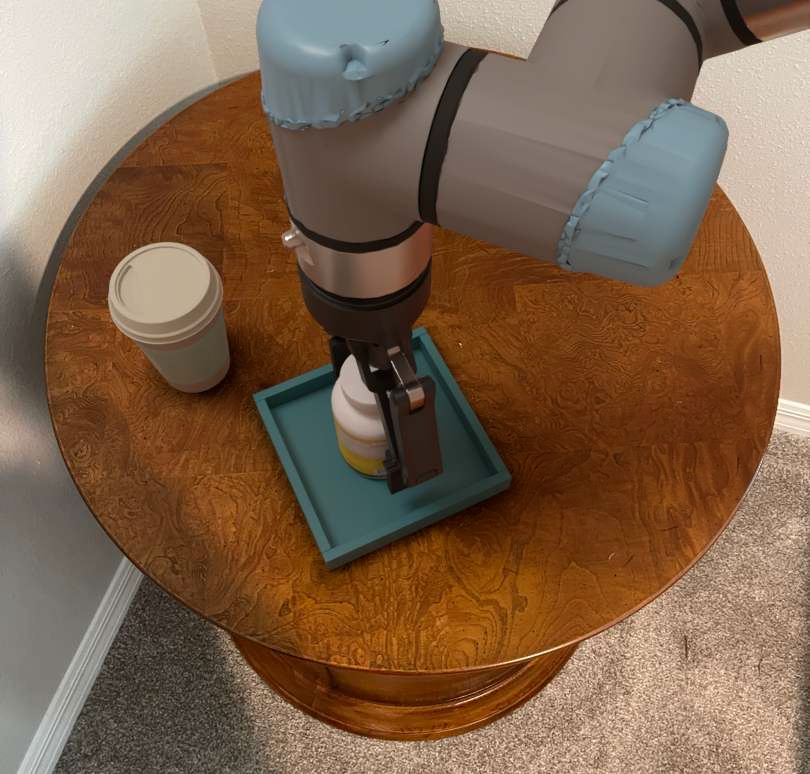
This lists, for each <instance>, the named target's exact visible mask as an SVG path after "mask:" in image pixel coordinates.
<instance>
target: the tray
mask: <svg viewBox="0 0 810 774" xmlns="http://www.w3.org/2000/svg"><path fill="white" fill-rule="evenodd" d="M412 333H413V336H412V339H411V345H412V349H413V353H414V357H415V361H416V365H417V373H416V375H415V376H416V378H418V377H420V376H426V375H429V376H430V377H431V378H432V379H433V380H434V382H435V384H436V387H435V388H436V397H435V403H434V406H435V413H436V421H437V429H438V436H439V444H440V451H441V459H442V466H443V474H441V475H438V476H436V477H434V478H432V479H430V480H428V481H425V482H423V483H421V484H419V485H416V486H414V487H412V488H406V489H404V490H402V491H400V492H397V493H395V494H393V495H391V493H390V491H389V489H388V487H387V478H382V479H375V478H369V477H365V476H362V475H360V474H358V473H357V472H355V471H354V470H352V469H351V468H350V467H349V466H348V464H347V463H346V462H345V460H344V458H343V457H342V454H341V451H340V447H339V442H338V437H337V432H336V427H335V421H334V416H333V411H332V403H331V397H332V391H333V388H334V385H335V378H334V372H333V366H332V362H330V363H327V364H325V365H323V366H320V367H318V368H315V369H313V370H309V371H308V372H305V373H303V374H300V375H298V376H295V377H293V378H290V379H288V380H285V381H283V382H280V383H278V384H275V385H273V386H270V387H267V388H266V389H262V390H261V391H258V392H256V393H253V394H252V399H253V401H254V404H255V407H256V410H257V412H258V414H259V416H260V419H261V421H262V424H263V426H264V428H265V430H266V432H267V435H268V437H269V439H270V440H271V444H272V447H273V448H274V451H275V453H276V455H277V457H278V459H279V462H280V465H281V467H282V469H283V471H284V473H285V476H286V478H287V480H288V482H289V485H290V487H291V489H292V492H293V495H294V496H295V498H296V500H297V503H298V505H299V508H300V509H301V510H300V511H301V512H302V514H303V517H304V519H305V521H306V523H307V526H308V528H309V530H310V532H311V534H312V538H313V540H314V541H315V543H316V546H317V548H318V550H319V553H320V555H321V558H322V560H323V562H324V564H325V566H326V567H325V568H326V569H327V571H328V572H331V571H332V570H334V569H337V568H339V567H341V566H344V565H346V564H348V563H350V562H352V561H354V560H356V559H358V558H361V557H363V556H365V555H367V554H369V553H372V552H374V551H376V550H378V549H381V548H382V547H385V546H386V545H389V544H392V543H393V542H395V541H398V540H400V539H402V538H404V537H407V536H408V535H411V534H413V533H415V532H417V531H419V530H421V529H423V528H427V527H428V526H430V525H433V524H435V523H436V522H439V521H441V520H443V519H445V518H448V517H450V516H452V515H454V514H456V513H458V512H460V511H461V512H462V510H465V509H468V508H470V507H472V506H473V505H476V504H478V503H480V502H482V501H485V500H487V499H490V498H491V497H493V496H495V495H498V494H500V493H502V492H504V491H506V490H508V489H510V486H511V482H512V475H511V473H510V471H509V470H508V468H507V467H506V465H505V463H504V461H503V460H502V458H501V456H500V455H499V453H498V452H497V450H496V448H495V446H494V444H493V442H492V441H491V439H490V437H489V436H488V434H487V432H486V431H485V429H484V427H483V426H482V424H481V422H480V420H479V418H478V417H477V415H476V414H475V412H474V410H473V409H472V406H471V405H470V403H469V401H468V399H467V398H466V396H465V394H464V393H463V392H462V389H461V388H460V386H459V384H458V383H457V381H456V380H455V378H454V376H453V374H452V372H451V371H450V369H449V367H448V365H447V363H446V362H445V361H444V358H443V357H442V355H441V354H440V352H439V350H438V349H437V347H436V345H435V344H434V341H433V339H432V338H431V336H430V334H429V333H428V331H427V330H426V328H425V326H424V325H421V326H419V327H416V328H413V329H412Z"/></svg>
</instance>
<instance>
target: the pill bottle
mask: <svg viewBox="0 0 810 774" xmlns="http://www.w3.org/2000/svg"><path fill="white" fill-rule="evenodd" d="M370 369H371V372H373V371H375V370H378V369H377V368H373V367H371V366H370ZM331 403H332V411H333V416H334V421H335V427H336V432H337V437H338V442H339V447H340V451H341V454H342V457H343V458H344V460H345V462H346V463H347V464H348V466H349V467H350V468H351V469H352V470H354V471H355V472H357V473H358V474H360V475H362V476H365V477H369V478H375V479H382V478H387V473H386V470H385V468H384V466H383V463H382V461H383V460H386V458H385V451H386V450H388V449H389V445H388V442H387V439H386V435H385V432H384V428H383V425H382V421H381V418H380V414H379V411H378V407H377V404H376V400H375V397H374V393H372V392H370V391H369V390H368V389H367V387H366V386H365V384H364V383H363V382H362V380H361V376H360V373H359V370H358V366H357V363H356V359H355V357H354V356H353V355H352V354H351V355H350V356H349V357H348V358H347V359H346V361H345V362H344V364H343V366H342V368H341V372H340V377H339V378H338V380H337V381H336V383H335V385H334V388H333V391H332V397H331Z"/></svg>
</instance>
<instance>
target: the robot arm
mask: <svg viewBox="0 0 810 774" xmlns="http://www.w3.org/2000/svg"><path fill="white" fill-rule="evenodd" d="M808 30H810V0H555V2H554V3H553V6H552V8H551V9H550V12H549V14H548V16H547V18H546V19H545V22H544V24H543V25H542V28H541V29H540V32H539V34H538V36H537V38H536V40H535V42H534V43H533V47H532V48H531V50H530V53H528V57H527V58H526V60H525V61H524V60H520V59H517V58H512V57H508V56H505V55H501V54H497V53H493V52H488V51H484V50H481V49H476V48H474V47H472V46H467V45H464V44H461V43H457V42H452V41H448V40H445V34H444V33H445V26H444V25H443V24H442V17H441V9H440V4H439V0H262V2H261V3H260V6H259V8H258V12H257V17H256V22H255V38H256V45H257V47H256V48H257V55H258V62H259V71H260V80H261V88H262V89H261V91H260V98H261V99H260V100H261V101H260V102H261V107H262V109H263V111H264V114H265V115H266V119H267V123H268V127H269V130H270V136H271V140H272V143H273V148H274V151H275V156H276V160H277V164H278V168H279V172H280V175H281V179H282V185H283V198H284V202H285V205H286V211H287V217H288V220H289V222H290V225H291V226H290V229H289V230H287V231H285V232H283V233H282V234H281V236H280V238H281V241H282V247H284V248H285V249H286V250H287V251H292V250H294V252H295V258H296V269H297V274H298V278H299V279H298V280H299V283H300V289H301V294H302V298H303V301H304V305H305V307H306V309H307V311H308V313H309V314H310V316H311V317H312V318H313V320H314V321H315V322H316V323H317V324H318V325H320V327H322V328H323V330H324V332H325V333H327V336H331V337H330V338H328V339H327V340H328V341H327V342H328V347H329V354H330V359H331V363H332V366H333V372H334V378H335V383H336V381H337V380H338V378H339V377H340V372H341V368H342V366H343V364H344V362H345V361H346V359H347V358H348V357H349V356H350V355H351V354H352V355H353V356H354V357H355V359H356V363H357V366H358V370H359V373H360V376H361V380H362V382H363V383H364V384H365V386H366V387H367V389H368V390H369V391H370V392H372V393H374V397H375V400H376V404H377V407H378V411H379V414H380V418H381V421H382V425H383V428H384V432H385V435H386V439H387V442H388V445H389V449H388V450H386V451H385V458H386V460H383V461H382V463H383V466H384V468H385V470H386V473H387V487H388V489H389V491H390V493H391V495H393V494H395V493H397V492H400V491H402V490H404V489H406V488H412V487H414V486H416V485H419V484H421V483H423V482H425V481H428V480H430V479H432V478H434V477H436V476H438V475H441V474H443V466H442V459H441V451H440V444H439V436H438V429H437V421H436V413H435V406H434V403H435V397H436V388H435V387H436V384H435V382H434V380H433V379H432V378H431V377H430V376H429V375H426V376H420V377H418V378H416V376H415V375H416V373H417V365H416V361H415V357H414V353H413V349H412V345H411V339H412V336H413V333H412V330H413V328H412V327H413V326H414V324H415V323H416V322H417V321H418V319H419V318H420V317H421V316H422V314H423V313H424V311H425V309H426V307H427V305H428V303H429V300H430V296H431V289H432V267H433V265H432V264H433V247H434V226H436V227H438V228H441V229H444V230H447V231H450V232H453V233H457V234H459V235H463V236H466V237H469V238H472V239H475V240H478V241H480V242H484V243H487V244H490V245H492V246H493V245H494V246H496V247H500V248H502V249H506V250H508V251H512V252H515V253H518V254H521V255H525V256H526V257H531V258H533V259H537V260H539V261H543V262H545V263H548V264H551V265H555V266H558V267H560V268H561V270H562V271H568V272H570V273H574V274H578V273H581V272H584V273H587V274H592V275H595V276H598V277H603V278H607V279H611V280H615V281H618V282H622V283H626V284H630V285H634V286H639V287H641V288H656V287H660V286H662V285H665V284H666V283H668V282H669V281H670V280H673V278H674V277H675V276H676V275H677V274H678V272H679V271H680V270H681V268H682V267H683V265H684V263H685V261H686V259H687V257H688V256H689V255H688V254H689V253H690V250H691V248H692V246H693V243H694V241H695V240H696V236H697V234H698V232H699V230H700V227H701V225H702V222H703V219H704V217H705V214H706V212H707V209H708V207H709V204H710V202H711V199H712V196H713V193H714V191H715V188H716V185H717V182H718V179H719V176H720V173H721V170H722V167H723V163H724V160H725V157H726V154H727V150H728V145H729V144H728V141H729V136H730V130H729V128H728V125H727V122H726V121H725V119H724V118H723V117H721V116H720V115H719V114H717V113H714V112H712V111H710V110H707V109H704V108H702V107H699V106H697V105H695V104H693V103H692V99H693V96H694V91H695V90H696V89H695V88H696V85H697V82H698V78H699V76H700V72H701V69H702V67H703V65H704V62H705V61H707V60H709V59H714V58H716V57H719V56H723V55H727V54H731V53H733V52H739V51H741V50H744V49H745V48H749V47H751V46H754V45H758V44H762V43H766V42H769V41H772V40H776V39H780V38H783V37H787V36H789V35H793V34H797V33H800V32H803V31H808ZM370 366H371V367H373V368H377V369H378V370H375V371H373V372H371V369H370Z"/></svg>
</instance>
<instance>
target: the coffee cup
mask: <svg viewBox="0 0 810 774" xmlns="http://www.w3.org/2000/svg"><path fill="white" fill-rule="evenodd" d="M108 285H109V286H108V294H107V296H108V297H107V303H108V309H109V312H110V316H111V319H112V320H113V323H114V325H115V326H116V327H117V329H118V330H119V331H120V332H121V333H123V334H124V335H125V336H127V337H128V338H131V339H132V340H133V342H134V343H135V344H136V346H137V347H138V348H139V349H140V350H141V351H142V353H143V354H144V355H145V356H146V358H147V359H148V360H149V362H150V363H151V364H152V365H153V366H154V367H155V369H156V370H157V371H158V373H159V374H160V375H161V376H162V377H163V379H164V380H165V381H166V382H167V383H168V384H169V385H170V386H171V387H172V388H174V389H175V390H177V391H180V392H183V393H187V394H188V393H189V394H193V393H195V394H197V393H201V392H205V391H208V390H210V389H212V388H214V387H215V386H217V385H218V384H220V382H222V380H224V378H225V377H226V375H227V374H228V371H229V368H230V365H231V355H230V349H229V348H230V347H229V341H228V336H227V335H228V334H227V329H226V322H225V317H224V316H225V315H224V310H223V309H224V308H223V296H224V287H223V282H222V278H221V276H220V274H219V272H218V271H217V269H216V268H215V266H214V265H213V264H212V262H211V261H210V260H208V258H207V257H205V256H203V255H202V254H201V253H200V252H199V251H197V250H196V249H194V248H193V247H191V246H189V245H187V244H183V243H179V242H172V241H164V242H163V241H161V242H156V243H155V242H154V243H151V244H147V245H144V246H141V247H139V248H137V249H135V250H134V251H132V252H130V253H129V254H128V255H126V256H125V257H124V258H123V259H122V260H121V261H119V263H118V264H117V266H116V267H115V268H114V270H113V272H112V274H111V276H110V279H109V284H108Z"/></svg>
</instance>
